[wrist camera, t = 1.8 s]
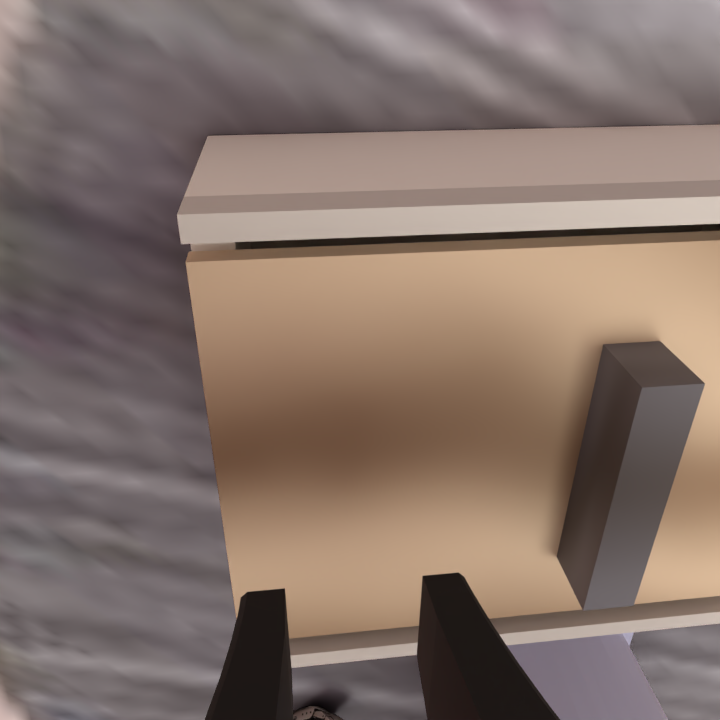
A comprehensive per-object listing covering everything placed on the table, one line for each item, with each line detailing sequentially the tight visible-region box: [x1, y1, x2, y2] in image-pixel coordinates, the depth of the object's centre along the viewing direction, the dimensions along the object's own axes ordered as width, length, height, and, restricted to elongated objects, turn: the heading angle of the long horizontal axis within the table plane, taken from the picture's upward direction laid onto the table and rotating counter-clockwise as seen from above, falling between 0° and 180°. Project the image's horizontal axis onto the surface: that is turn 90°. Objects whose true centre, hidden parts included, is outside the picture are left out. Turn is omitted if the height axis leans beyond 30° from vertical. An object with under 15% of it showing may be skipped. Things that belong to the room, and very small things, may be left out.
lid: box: [186, 231, 720, 639], centre depth 14 cm, size 10×14×2 cm
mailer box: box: [177, 124, 720, 668], centre depth 17 cm, size 12×14×6 cm
